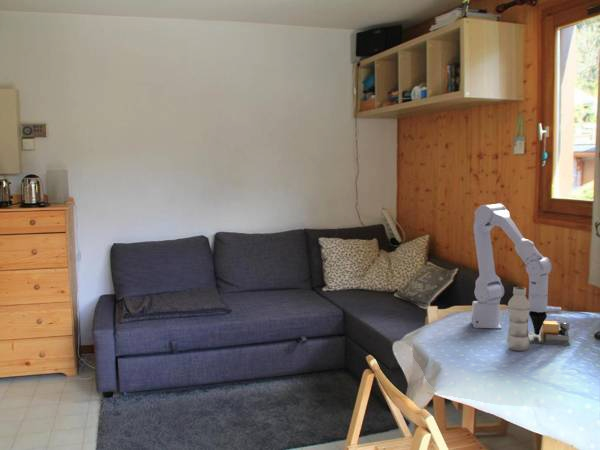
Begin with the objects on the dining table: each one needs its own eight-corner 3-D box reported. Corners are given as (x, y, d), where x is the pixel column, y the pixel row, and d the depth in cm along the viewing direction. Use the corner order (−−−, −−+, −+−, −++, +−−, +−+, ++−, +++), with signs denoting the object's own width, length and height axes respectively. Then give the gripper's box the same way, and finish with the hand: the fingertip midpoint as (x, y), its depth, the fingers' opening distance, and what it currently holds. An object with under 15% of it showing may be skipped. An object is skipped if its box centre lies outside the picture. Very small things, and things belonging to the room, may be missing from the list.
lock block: (542, 338, 188) (543, 323, 187) (540, 334, 192) (541, 320, 191) (559, 339, 187) (559, 324, 186) (556, 335, 191) (557, 321, 190)
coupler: (530, 343, 186) (530, 326, 185) (524, 333, 196) (525, 317, 195) (572, 345, 183) (573, 327, 183) (564, 335, 193) (565, 318, 192)
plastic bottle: (531, 353, 176) (533, 291, 174) (508, 352, 178) (510, 290, 175) (527, 346, 183) (529, 286, 180) (505, 345, 184) (506, 285, 181)
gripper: (517, 296, 186) (515, 336, 188) (564, 297, 183) (562, 338, 185) (513, 291, 193) (512, 330, 194) (559, 292, 190) (557, 331, 191)
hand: (536, 333), depth 190 cm, fingers closed
